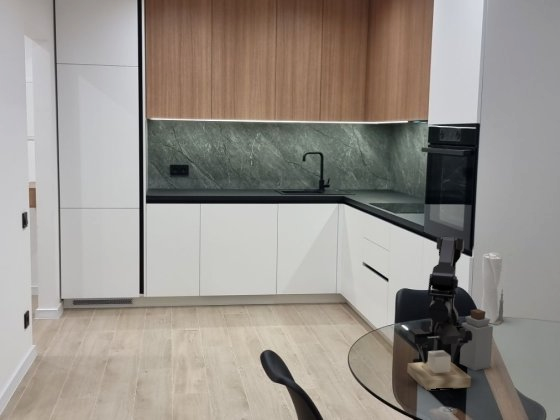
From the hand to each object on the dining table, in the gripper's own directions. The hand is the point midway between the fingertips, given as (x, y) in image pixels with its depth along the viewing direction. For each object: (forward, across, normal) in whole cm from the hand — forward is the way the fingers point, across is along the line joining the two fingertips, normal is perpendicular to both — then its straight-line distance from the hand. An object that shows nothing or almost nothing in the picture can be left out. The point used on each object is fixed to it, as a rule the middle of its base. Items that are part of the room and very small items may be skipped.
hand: (438, 362), depth 205 cm
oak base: (+6, 0, 0) cm, 6 cm away
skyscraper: (+6, +45, +50) cm, 67 cm away
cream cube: (+2, 0, 0) cm, 2 cm away
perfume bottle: (+6, +17, +9) cm, 20 cm away
